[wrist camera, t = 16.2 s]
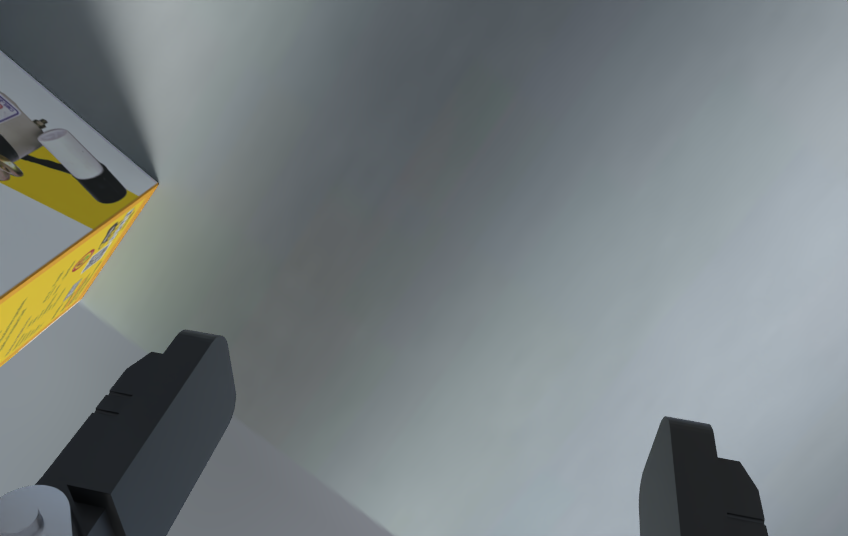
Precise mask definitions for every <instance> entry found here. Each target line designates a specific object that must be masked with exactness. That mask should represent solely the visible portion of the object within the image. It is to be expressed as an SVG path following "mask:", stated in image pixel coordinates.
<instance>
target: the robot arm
mask: <svg viewBox="0 0 848 536" xmlns="http://www.w3.org/2000/svg"><path fill="white" fill-rule="evenodd" d="M235 401H236V391H235V385H234V379H233V373H232V367H231V361H230V356H229V350H228V344H227V341H226V339H225V337H223V336H219V335H214V334H208V333H202V332H197V331H191V330H183V331H181V332H180V333H179V334H178V335H177V336H176V337H175V339H174V340H173V341H172V343H171V344H170V345H169V347H168V348H167V349H166V351H165V352H164V353H163V354H161V353H155V352H151V353H149V354H148V355H146V356H145V357H143V358H142V359H140V360H139V361H137V362H136V363H135V364H133V365H132V366H130V367H129V368H127V369H126V370H125V372H124V373H123V374H122V375H121V377H120V378H119V379H118V380H117V382H116V383H115V384H114V386H113V387H112V388H111V390H110V393H109V395H106V396H105V397H104V399H103V400H102V401H101V402H100V403H99V405H98V406H97V407H96V411H95V413H92V414H91V415H90V416H89V418H88V419H87V420H86V421H85V423H84V424H83V425H82V426H81V428H80V429H79V430H78V432H77V433H76V434H75V435H74V437H73V438H72V439H71V441H70V442H69V443H68V444H67V446H66V447H65V448H64V449H63V451H62V452H61V453H60V455H59V456H58V457H57V458H56V460H55V461H54V462H53V464H52V465H51V466H50V467H49V469H48V470H47V471H46V472H45V474H44V475H43V477H41V479H40V480H39V481H38V482H37V483H36V484H35V485H32V486H26V487H22V488H18V489H16V490H13V491H11V492H9V493H7V494H5V495H3V496H1V497H0V536H166V535H167V533H168V531H169V529H170V528H171V526H172V524H173V523H174V521H175V519H176V517H177V515H178V514H179V512H180V510H181V508H182V507H183V505H184V503H185V501H186V499H187V498H188V496H189V494H190V492H191V491H192V489H193V487H194V485H195V483H196V482H197V480H198V478H199V476H200V475H201V473H202V471H203V469H204V468H205V466H206V464H207V462H208V460H209V459H210V457H211V455H212V453H213V451H214V449H215V448H216V446H217V444H218V442H219V441H220V439H221V437H222V436H223V434H224V432H225V430H226V428H227V427H228V425H229V423H230V420H231V418H232V415H233V412H234V407H235ZM639 519H640V536H768V533H767V528H766V526H765V525H764V520H765V519H764V514H763V510H762V505H761V500H760V496H759V491H758V489H757V487H756V486H755V484H754V483H753V481H752V480H751V478H750V477H749V475H748V473H747V472H746V470H745V469H744V467H743V466H742V464H741V463H740V462H739V461H733V460H728V459H723V458H718V457H717V451H716V445H715V439H714V433H713V429H712V427H711V425H710V424H705V423H700V422H694V421H689V420H683V419H677V418H672V417H666V416H665V417H664V418H663V419H662V421H661V423H660V426H659V429H658V432H657V434H656V437H655V440H654V443H653V445H652V448H651V451H650V454H649V457H648V459H647V462H646V465H645V468H644V471H643V474H642V479H641V484H640V493H639Z"/></svg>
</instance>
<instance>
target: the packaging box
mask: <svg viewBox="0 0 848 536" xmlns="http://www.w3.org/2000/svg"><path fill="white" fill-rule="evenodd" d="M158 185H159V184H158V183H157V182H156V181H155V180H154V179H153V178H152V177H150V176H149V175H148V174H147V173H146V172H144V171H143V170H142V169H141V168H140V167H138V166H137V165H136V164H135V163H134V162H133V161H131V160H130V159H129V158H128V157H127V156H125V155H124V154H123V153H122V152H121V151H120V150H118V149H117V148H116V147H115V146H114V145H112V144H111V143H110V142H109V141H108V140H106V139H105V138H104V137H103V136H102V135H101V134H99V133H98V132H97V131H96V130H95V129H93V128H92V127H91V126H90V125H89V124H87V123H86V122H85V121H84V120H83V119H82V118H80V117H79V116H78V115H77V114H76V113H74V112H73V111H72V110H71V109H70V108H69V107H67V106H66V105H65V104H64V103H63V102H61V101H60V100H59V99H58V98H57V97H55V96H54V95H53V94H52V93H51V92H50V91H48V90H47V89H46V88H45V87H44V86H42V85H41V84H40V83H39V82H38V81H36V80H35V79H34V78H33V77H32V76H31V75H29V74H28V73H27V72H26V71H25V70H23V69H22V68H21V67H20V66H19V65H17V64H16V63H15V62H14V61H13V60H12V59H10V58H9V57H8V56H7V55H6V54H4V53H3V52H2V51H1V50H0V367H1V366H2V365H3V364H4V363H6V362H7V361H8V360H9V359H10V358H12V357H13V356H14V355H15V354H16V353H18V352H19V351H20V350H21V349H23V348H24V347H25V346H26V345H27V344H28V343H30V342H31V341H32V340H33V339H34V338H36V337H37V336H38V335H39V334H41V333H42V332H43V331H44V330H45V329H47V328H48V327H49V326H50V325H51V324H53V323H54V322H55V321H56V320H57V319H58V318H60V317H61V316H62V315H63V314H65V313H66V312H67V311H68V310H69V309H70V308H72V307H73V306H74V305H75V304H77V303H78V302H79V301H80V300H81V299H82V297H83V296H84V294H85V293H86V291H87V290H88V289H89V287H90V286H91V284H92V283H93V281H94V280H95V278H96V277H97V275H98V274H99V272H100V271H101V269H102V268H103V266H104V265H105V263H106V262H107V260H108V259H109V257H110V256H111V255H112V253H113V252H114V250H115V249H116V247H117V246H118V244H119V243H120V241H121V240H122V238H123V237H124V235H125V234H126V232H127V231H128V229H129V228H130V226H131V225H132V223H133V222H134V221H135V219H136V218H137V216H138V215H139V213H140V212H141V210H142V209H143V207H144V206H145V204H146V203H147V201H148V200H149V198H150V197H151V195H152V194H153V192H154V191H155V189H156V188H157V186H158Z"/></svg>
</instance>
